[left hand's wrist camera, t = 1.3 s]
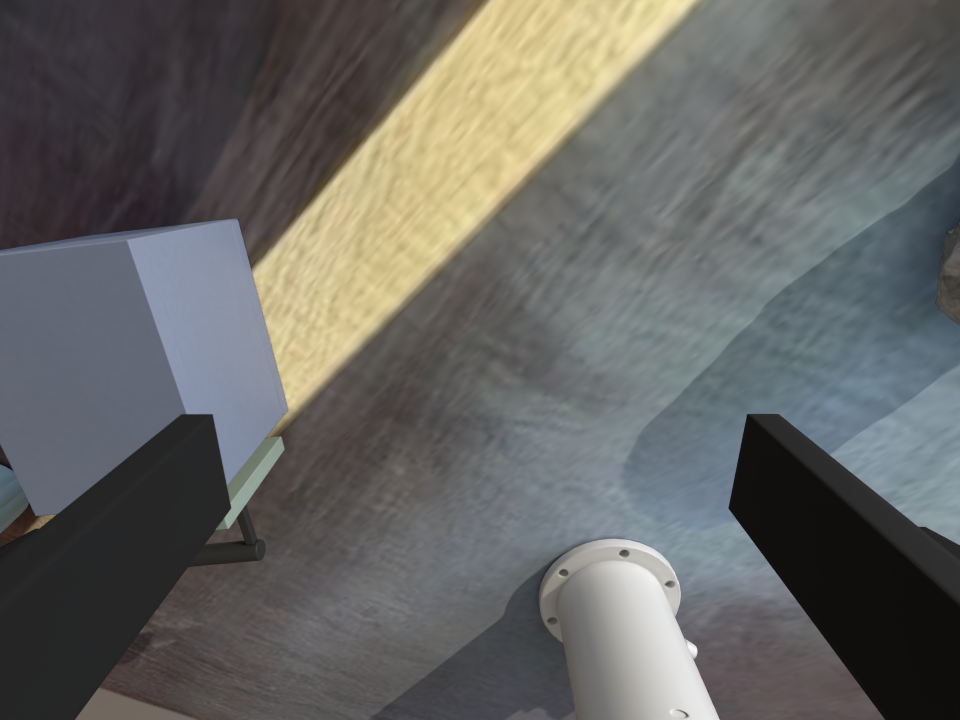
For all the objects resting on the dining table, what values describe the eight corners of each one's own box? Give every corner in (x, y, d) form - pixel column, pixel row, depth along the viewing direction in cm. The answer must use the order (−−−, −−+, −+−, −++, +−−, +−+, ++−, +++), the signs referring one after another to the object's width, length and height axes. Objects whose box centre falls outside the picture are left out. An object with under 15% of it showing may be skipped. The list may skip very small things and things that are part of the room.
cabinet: (288, 409, 40) (216, 499, 29) (155, 423, 41) (35, 516, 30) (237, 218, 35) (127, 239, 24) (86, 236, 36) (-90, 264, 25)
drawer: (301, 509, 42) (253, 601, 33) (188, 519, 43) (110, 613, 34) (238, 283, 36) (157, 321, 27) (106, 298, 36) (-19, 340, 27)
